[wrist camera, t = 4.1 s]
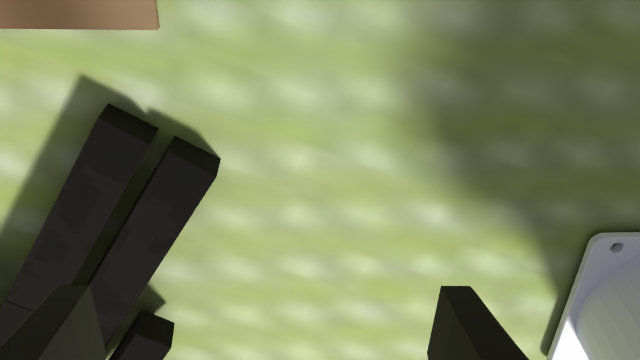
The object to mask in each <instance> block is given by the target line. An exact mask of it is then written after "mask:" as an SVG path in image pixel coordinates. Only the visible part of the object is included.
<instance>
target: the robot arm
mask: <svg viewBox="0 0 640 360" xmlns="http://www.w3.org/2000/svg"><path fill="white" fill-rule="evenodd" d="M615 243H617V244H616V245H614V246H612V245H613V244H615ZM427 354H428V360H529V359H528V358H527V357H526V355H525V354H524V353H523V352H522V351H521V350H520V348H519V347H518V346H517V345H516V344H515V342H514V341H513V340H512V339H511V337H510V336H509V335H508V334H507V332H506V331H505V330H504V329H503V327H502V326H501V325H500V324H499V322H498V321H497V320H496V318H495V317H494V316H493V315H492V313H491V312H490V311H489V309H488V308H487V307H486V306H485V304H484V303H483V302H482V300H481V299H480V298H479V296H478V295H477V294H476V292H475V291H474V290H473V289H472V288H471V287H470V286H441V289H440V294H439V299H438V303H437V308H436V313H435V318H434V323H433V327H432V332H431V337H430V342H429V346H428V351H427ZM105 356H106V352H105V347H104V343H103V339H102V335H101V331H100V326H99V322H98V318H97V314H96V310H95V305H94V301H93V297H92V293H91V289H90V285H59V286H58V287H57V288H55V289H54V290H53V291H52V292H51V293H50V294H49V296H48V297H47V298H46V299H45V300H44V301H43V302H42V303H41V304H40V305H39V306H38V307H37V308H36V309H35V310H34V311H33V312H32V313H31V315H30V316H29V317H28V318H27V319H26V320H25V321H24V322H23V323H22V324H21V325H20V326H19V327H18V328H17V329H16V330H15V331H14V332H13V333H12V334H11V335H10V337H9V338H8V339H7V340H6V341H5V342H4V343H3V344H2V345H1V346H0V360H105ZM547 360H640V232H615V233H599V234H597V235H595V236H593V237H592V238H591V239H590V241H589V242H588V245H587V248H586V251H585V254H584V256H583V259H582V262H581V265H580V267H579V270H578V273H577V276H576V279H575V281H574V284H573V287H572V290H571V292H570V295H569V298H568V301H567V303H566V306H565V309H564V312H563V315H562V317H561V320H560V323H559V326H558V328H557V331H556V334H555V337H554V339H553V342H552V345H551V348H550V351H549V353H548V356H547Z"/></svg>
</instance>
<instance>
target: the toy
mask: <svg viewBox="0 0 640 360" xmlns="http://www.w3.org/2000/svg"><path fill="white" fill-rule="evenodd" d="M157 130H158V128H157V127H155V126H153V125H151V124H149V123H147V122H145V121H143V120H141V119H139V118H137V117H135V116H133V115H131V114H129V113H127V112H125V111H123V110H121V109H119V108H117V107H115V106H113V105H111V104H109V103H108V105H107V106H106V108H105V109H104V110H103V112H102V113H101V114H100V116H99V117H98V119H97V121H96V123H95V125H94V127H93V129H92V131H91V133H90V135H89V137H88V139H87V141H86V143H85V145H84V147H83V148H82V150H81V152H80V154H79V156H78V158H77V160H76V162H75V164H74V166H73V168H72V170H71V172H70V174H69V176H68V178H67V180H66V182H65V184H64V186H63V188H62V190H61V192H60V194H59V196H58V198H57V200H56V202H55V204H54V206H53V208H52V210H51V212H50V214H49V216H48V218H47V219H46V221H45V223H44V225H43V227H42V229H41V231H40V233H39V235H38V237H37V239H36V241H35V243H34V245H33V247H32V249H31V251H30V253H29V255H28V257H27V259H26V261H25V263H24V265H23V267H22V269H21V271H20V273H19V275H18V277H17V279H16V281H15V283H14V285H13V287H12V289H11V290H10V292H9V294H8V296H7V298H6V300H5V302H4V304H3V306H2V308H1V310H0V346H1V345H2V344H3V343H4V342H5V341H6V340H7V339H8V338H9V337H10V335H11V334H12V333H13V332H14V331H15V330H16V329H17V328H18V327H19V326H20V325H21V324H22V323H23V322H24V321H25V320H26V319H27V318H28V317H29V316H30V315H31V313H32V312H33V311H34V310H35V309H36V308H37V307H38V306H39V305H40V304H41V303H42V302H43V301H44V300H45V299H46V298H47V297H48V296H49V294H50V293H51V292H52V291H53V290H54V289H55V288H57V287H58V286H59V285H71V283H72V282H73V280H74V278H75V276H76V275H77V273H78V271H79V269H80V268H81V266H82V264H83V262H84V261H85V259H86V257H87V255H88V254H89V252H90V250H91V248H92V247H93V245H94V243H95V241H96V239H97V238H98V236H99V234H100V232H101V231H102V229H103V227H104V225H105V224H106V222H107V220H108V218H109V217H110V215H111V213H112V211H113V210H114V208H115V206H116V204H117V203H118V201H119V199H120V197H121V195H122V194H123V192H124V190H125V188H126V187H127V185H128V183H129V181H130V180H131V178H132V176H133V174H134V173H135V171H136V169H137V167H138V166H139V164H140V162H141V160H142V159H143V157H144V155H145V153H146V151H147V150H148V148H149V146H150V144H151V142H152V140H153V138H154V136H155V134H156V132H157ZM220 160H221V159H220V158H218V157H216V156H214V155H212V154H210V153H208V152H206V151H204V150H202V149H200V148H198V147H196V146H194V145H192V144H190V143H188V142H186V141H184V140H182V139H180V138H178V137H176V136H174V138H173V140H172V141H171V143H170V145H169V146H168V148H167V150H166V151H165V153H164V155H163V157H162V158H161V160H160V162H159V163H158V165H157V167H156V168H155V170H154V172H153V173H152V175H151V177H150V179H149V180H148V182H147V184H146V185H145V187H144V189H143V190H142V192H141V194H140V196H139V197H138V199H137V201H136V202H135V204H134V206H133V207H132V209H131V211H130V213H129V214H128V216H127V218H126V219H125V221H124V223H123V224H122V226H121V228H120V229H119V231H118V233H117V235H116V236H115V238H114V240H113V241H112V243H111V245H110V246H109V248H108V250H107V252H106V253H105V255H104V257H103V258H102V260H101V262H100V263H99V265H98V267H97V269H96V270H95V272H94V274H93V275H92V277H91V279H90V281H89V282H88V284H87V285H90V289H91V293H92V297H93V301H94V305H95V310H96V314H97V318H98V322H99V326H100V331H101V335H102V339H103V343H104V347H105V348H106V347H107V345H108V343H109V342H110V340H111V339H112V337H113V336H114V334H115V333H116V331H117V330H118V328H119V326H120V325H121V323H122V322H123V320H124V319H125V317H126V316H127V314H128V313H129V311H130V309H131V308H132V306H133V305H134V303H135V302H136V300H137V299H138V297H139V296H140V294H141V292H142V291H143V289H144V288H145V286H146V285H147V283H148V282H149V280H150V279H151V277H152V275H153V274H154V272H155V271H156V269H157V268H158V266H159V265H160V263H161V262H162V260H163V258H164V257H165V255H166V254H167V252H168V251H169V249H170V248H171V246H172V245H173V243H174V241H175V240H176V238H177V237H178V235H179V234H180V232H181V231H182V229H183V228H184V226H185V224H186V223H187V221H188V220H189V218H190V217H191V215H192V214H193V212H194V210H195V209H196V207H197V206H198V204H199V203H200V201H201V200H202V198H203V197H204V195H205V193H206V192H207V190H208V189H209V187H210V186H211V184H212V183H213V181H214V180H215V178H216V176H217V172H218V168H219V164H220ZM174 324H175V323H174V322H171V321H169V320H166V319H164V318H161V317H159V316H156V315H154V314H151V313H149V312H146V311H144V310H142V309H141V311H140V313H139V314H138V316H137V317H136V319H135V320H134V322H133V323H132V325H131V326H130V328H129V329H128V331H127V333H126V334H125V336H124V337H123V339H122V340H121V342H120V343H119V345H118V346H117V348H116V349H115V351H114V353H113V354H112V356H111V357H110V359H109V360H163V359H164V357H165V356H166V354H167V353H168V352H169V350H170V349H171V345H172V338H173V331H174Z"/></svg>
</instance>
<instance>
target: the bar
mask: <svg viewBox="0 0 640 360" xmlns="http://www.w3.org/2000/svg"><path fill="white" fill-rule="evenodd" d="M159 27H160V26H159V18H158V10H157V2H156V0H0V29H100V30H158V29H159Z"/></svg>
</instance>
